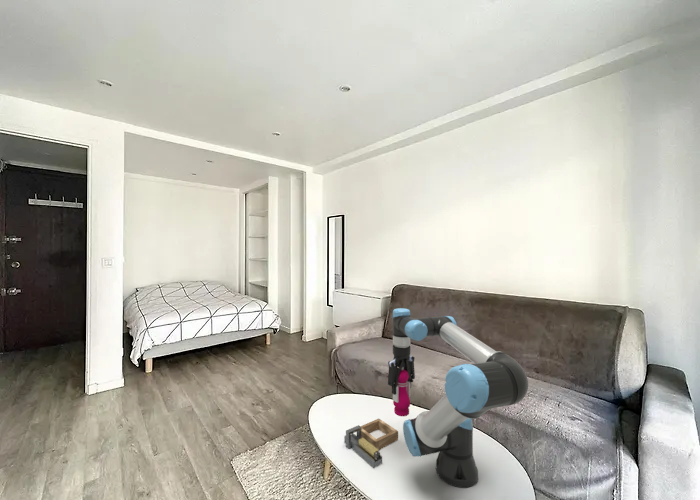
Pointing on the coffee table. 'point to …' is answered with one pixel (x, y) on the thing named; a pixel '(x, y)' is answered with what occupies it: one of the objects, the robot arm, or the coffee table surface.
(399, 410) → the pepper mill
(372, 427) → the cradle
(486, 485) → the coffee table surface
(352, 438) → the rail
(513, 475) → the coffee table surface
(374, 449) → the pin
